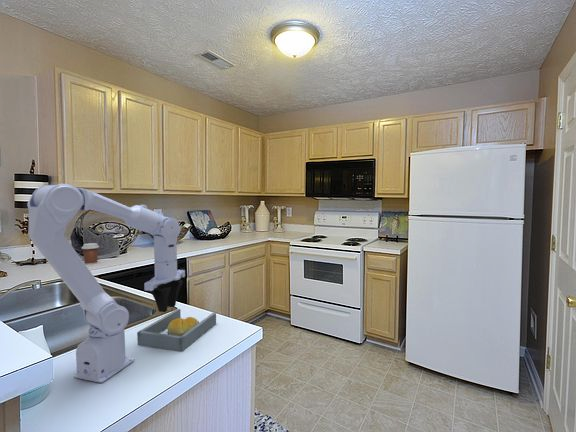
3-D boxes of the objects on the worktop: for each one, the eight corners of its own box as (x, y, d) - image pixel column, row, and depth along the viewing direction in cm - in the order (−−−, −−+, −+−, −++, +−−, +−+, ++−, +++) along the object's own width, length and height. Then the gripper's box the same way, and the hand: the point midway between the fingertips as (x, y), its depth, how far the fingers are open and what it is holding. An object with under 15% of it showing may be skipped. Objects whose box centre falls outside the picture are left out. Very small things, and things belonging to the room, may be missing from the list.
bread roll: (171, 326, 94) (171, 314, 94) (200, 325, 95) (200, 312, 95) (163, 338, 86) (163, 325, 86) (195, 337, 87) (195, 323, 87)
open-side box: (182, 351, 79) (182, 338, 78) (137, 344, 82) (137, 332, 82) (216, 323, 96) (216, 312, 96) (177, 319, 100) (177, 308, 99)
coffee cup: (86, 265, 178) (85, 245, 177) (79, 263, 183) (78, 244, 182) (102, 262, 186) (102, 243, 185) (95, 261, 191) (94, 242, 190)
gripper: (160, 267, 74) (162, 320, 75) (193, 256, 88) (194, 301, 89) (136, 265, 76) (138, 317, 77) (172, 254, 90) (173, 299, 91)
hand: (167, 308), depth 83 cm, fingers open, 3 cm apart
